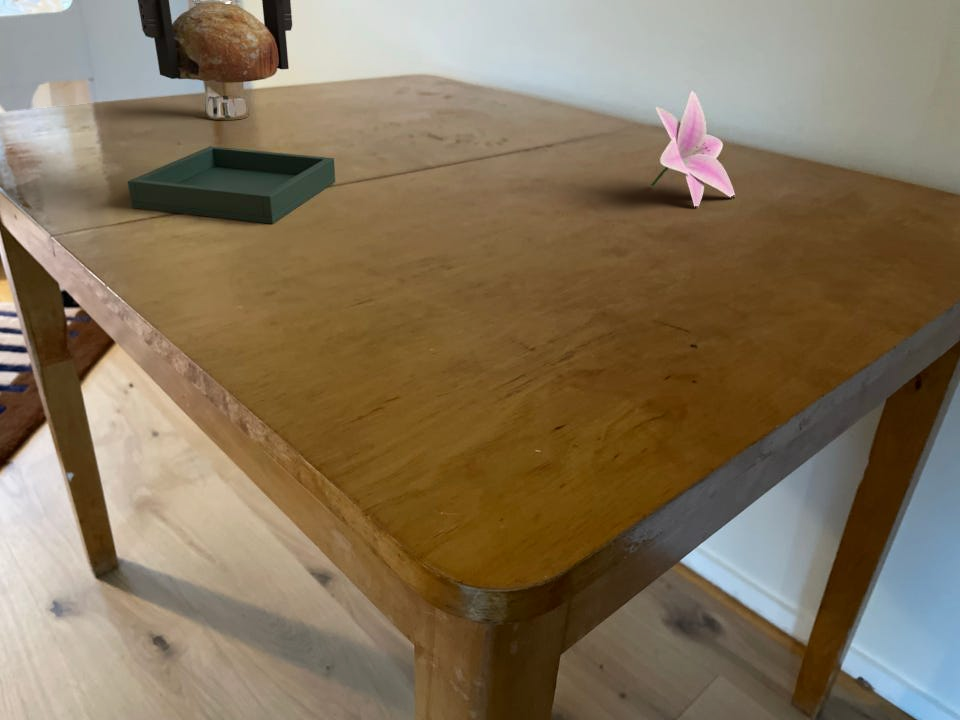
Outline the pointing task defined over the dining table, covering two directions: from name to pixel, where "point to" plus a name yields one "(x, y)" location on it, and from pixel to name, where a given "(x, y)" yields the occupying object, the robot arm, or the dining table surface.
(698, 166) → the lily
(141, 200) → the dark green square tray
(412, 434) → the dining table surface
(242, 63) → the bread roll
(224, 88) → the beer glass
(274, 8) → the robot arm
